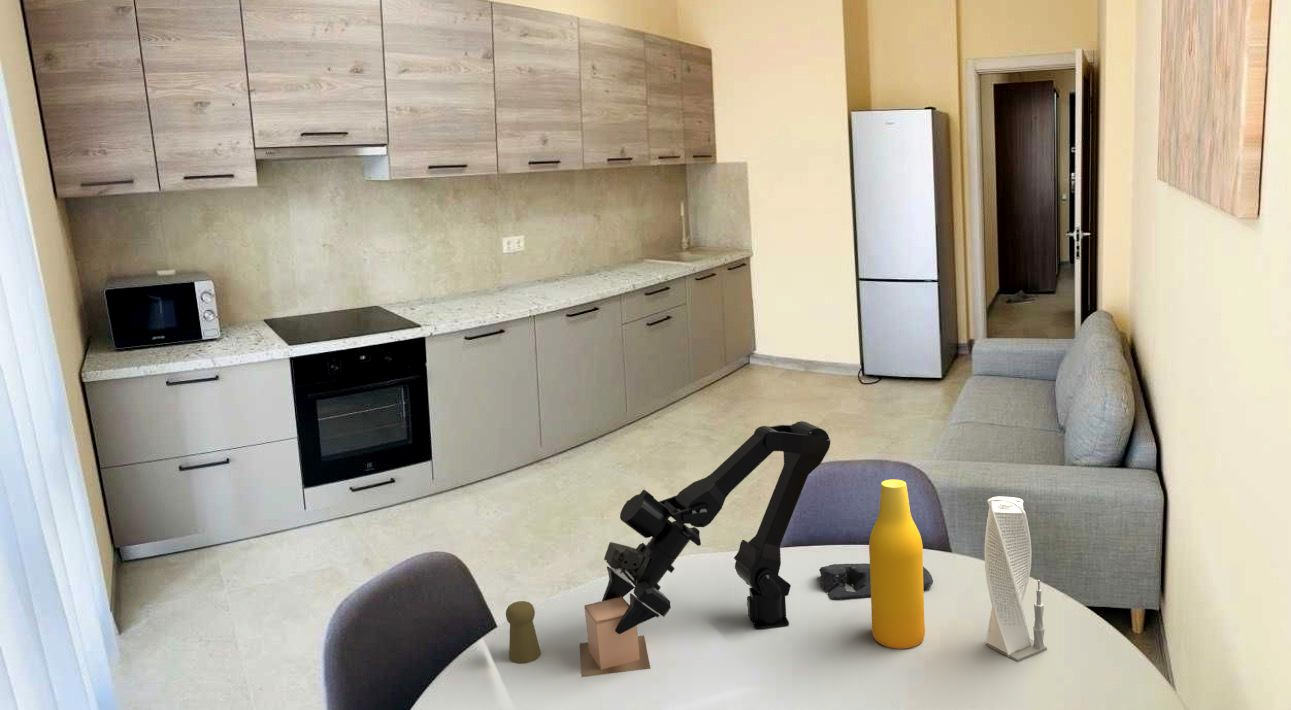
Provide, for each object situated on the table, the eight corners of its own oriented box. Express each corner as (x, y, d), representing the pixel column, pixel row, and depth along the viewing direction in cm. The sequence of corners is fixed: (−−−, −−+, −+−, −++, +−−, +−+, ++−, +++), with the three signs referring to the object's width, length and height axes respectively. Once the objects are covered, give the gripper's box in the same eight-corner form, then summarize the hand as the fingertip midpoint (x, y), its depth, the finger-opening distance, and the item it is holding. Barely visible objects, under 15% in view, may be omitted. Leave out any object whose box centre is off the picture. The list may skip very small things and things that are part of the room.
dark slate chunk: (939, 598, 186) (938, 575, 185) (825, 603, 188) (823, 581, 187) (923, 565, 201) (922, 544, 200) (817, 570, 203) (816, 549, 202)
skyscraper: (1011, 664, 160) (1010, 505, 154) (974, 644, 167) (972, 492, 161) (1046, 649, 164) (1047, 494, 158) (1009, 630, 171) (1008, 481, 165)
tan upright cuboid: (626, 641, 176) (622, 596, 174) (639, 659, 169) (635, 612, 168) (588, 651, 174) (584, 605, 172) (601, 669, 167) (596, 622, 165)
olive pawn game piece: (536, 669, 171) (530, 612, 169) (504, 668, 172) (497, 611, 170) (546, 652, 177) (540, 597, 174) (515, 651, 178) (509, 596, 176)
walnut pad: (644, 640, 178) (643, 635, 178) (651, 673, 166) (650, 668, 166) (580, 648, 177) (579, 643, 177) (582, 682, 165) (581, 676, 165)
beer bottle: (929, 628, 174) (925, 476, 168) (920, 653, 166) (916, 494, 160) (877, 621, 178) (872, 473, 172) (867, 645, 170) (861, 490, 164)
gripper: (612, 510, 177) (560, 579, 176) (648, 545, 160) (591, 621, 158) (655, 542, 181) (605, 609, 180) (694, 579, 164) (639, 653, 163)
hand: (608, 621), depth 170 cm, fingers open, 9 cm apart
